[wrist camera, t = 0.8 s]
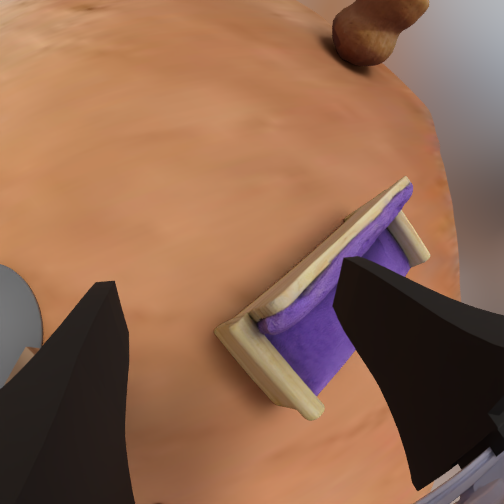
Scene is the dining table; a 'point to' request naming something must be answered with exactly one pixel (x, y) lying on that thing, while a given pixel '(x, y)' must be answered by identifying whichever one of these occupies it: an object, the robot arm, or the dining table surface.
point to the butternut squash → (373, 28)
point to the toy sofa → (318, 305)
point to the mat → (17, 320)
